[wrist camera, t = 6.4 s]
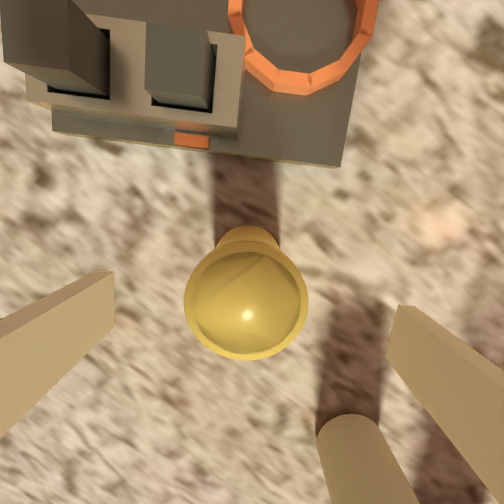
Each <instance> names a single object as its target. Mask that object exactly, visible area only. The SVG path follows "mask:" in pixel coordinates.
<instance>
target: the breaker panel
mask: <svg viewBox="0 0 504 504" xmlns="http://www.w3.org/2000/svg"><path fill="white" fill-rule="evenodd" d="M72 1H73V2H74V3H75V4H76V5H77V6H78V7H79V8H80V9H81V10H82V11H83V12H84V14H85V15H86V16H87V17H88V18H89V19H90V20H91V21H92V22H93V23H94V24H95V25H96V26H97V27H98V28H99V29H100V31H101V32H102V33H103V34H104V35H105V36H106V37H107V38H108V39H109V40H110V100H105V99H97V98H90V97H82V96H74V95H67V94H65V93H63V92H61V91H59V90H57V89H55V88H53V87H51V86H49V85H48V84H46V83H44V82H42V81H40V80H38V79H36V78H34V77H32V76H30V75H28V74H26V73H25V77H26V94H27V101H29V102H32V103H34V104H37V105H39V106H42V107H44V108H47V109H49V110H52V131H55V132H58V133H61V134H65V135H71V136H79V137H87V138H95V139H103V140H111V141H119V142H127V143H135V144H143V145H150V146H158V147H166V148H174V149H182V150H190V151H198V152H206V153H214V154H222V155H230V156H238V157H246V158H254V159H262V160H270V161H278V162H286V163H294V164H302V165H310V166H318V167H326V168H338V167H340V165H341V160H342V154H343V149H344V143H345V138H346V132H347V127H348V122H349V116H350V111H351V105H352V100H353V94H354V89H355V83H356V78H357V72H358V67H359V61H360V56H361V52H360V54H359V55H358V56H357V58H356V59H355V61H354V62H353V63H352V65H351V66H350V67H349V69H348V70H347V71H346V73H345V74H344V75H343V76H342V78H341V79H340V80H339V81H337V82H335V83H333V84H330V85H328V86H326V87H324V88H322V89H320V90H317V91H315V92H313V93H311V94H309V95H306V96H305V95H298V94H290V93H283V92H276V91H271V90H270V89H269V88H268V87H267V86H265V85H264V84H263V83H262V82H261V81H259V80H258V79H257V78H256V77H255V76H253V75H252V74H251V73H250V72H249V71H248V70H246V65H245V57H246V42H245V36H241V35H234V34H231V33H230V30H229V23H228V4H229V0H72ZM357 10H358V8H357V5H356V1H355V0H244V7H243V17H242V18H243V21H244V24H245V26H246V29H247V32H248V34H249V37H250V40H251V42H252V45H253V48H254V49H255V50H257V51H258V52H259V53H260V54H261V55H262V56H264V57H265V58H266V59H267V60H268V61H269V62H271V63H272V64H273V65H274V66H275V67H276V68H278V69H279V70H286V71H293V72H300V73H308V74H310V73H312V72H315V71H317V70H319V69H321V68H323V67H325V66H327V65H330V64H332V63H334V62H336V61H338V60H340V58H341V57H342V55H343V54H344V53H345V51H346V50H347V49H348V47H349V46H350V44H351V43H352V38H353V33H354V27H355V21H356V15H357ZM146 22H149V23H156V24H163V25H170V26H177V27H184V28H191V29H199V30H206V31H207V33H208V37H209V41H210V45H211V48H212V52H213V56H214V59H215V63H216V72H215V85H214V98H213V110H212V113H205V112H197V111H189V110H182V109H174V108H166V107H163V106H162V105H161V104H160V103H158V102H157V101H156V100H155V99H154V98H153V97H152V96H151V95H150V94H149V93H148V92H147V91H146V90H145V89H144V78H145V42H146Z"/></svg>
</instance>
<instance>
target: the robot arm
mask: <svg viewBox="0 0 504 504" xmlns="http://www.w3.org/2000/svg"><path fill="white" fill-rule="evenodd" d="M113 327H114V272H110V271H102V270H96V271H94V272H92V273H91V274H89V275H87V276H85V277H83V278H81V279H79V280H77V281H75V282H73V283H71V284H69V285H67V286H65V287H63V288H61V289H59V290H57V291H55V292H53V293H51V294H49V295H48V296H46V297H44V298H42V299H40V300H38V301H36V302H34V303H32V304H30V305H28V306H26V307H24V308H22V309H20V310H18V311H16V312H14V313H12V314H10V315H8V316H6V317H4V318H1V319H0V438H1V437H2V436H3V435H4V434H5V433H6V432H7V431H8V430H9V429H10V428H11V427H12V426H13V425H14V424H15V423H16V422H17V421H18V420H19V419H20V418H21V417H22V416H23V415H25V414H26V413H27V412H28V411H29V410H30V409H31V408H32V407H33V406H34V405H35V404H36V403H37V402H38V401H39V400H40V399H41V398H42V397H43V396H44V395H45V394H46V393H47V392H48V391H49V390H50V389H51V388H52V387H53V386H54V385H55V384H56V383H57V382H58V381H59V380H60V379H61V378H62V377H63V376H64V375H65V374H66V373H67V372H68V371H69V370H71V369H72V368H73V367H74V366H75V365H76V364H77V363H78V362H79V361H80V360H81V359H82V358H83V357H84V356H85V355H86V354H87V353H88V352H89V351H90V350H91V349H92V348H93V347H94V346H95V345H96V344H97V343H98V342H99V341H100V340H101V339H102V338H103V337H104V336H105V335H106V334H107V333H108V332H109V331H110V330H111V329H112V328H113ZM385 358H386V359H387V360H388V362H389V363H390V364H391V365H392V367H393V368H394V369H395V371H396V372H397V373H398V374H399V376H400V377H401V378H402V380H403V381H404V382H405V383H406V385H407V386H408V387H409V388H410V390H411V391H412V392H413V394H414V395H415V396H416V397H417V399H418V400H419V401H420V403H421V404H422V405H423V406H424V408H425V409H426V410H427V412H428V413H429V414H430V415H431V417H432V418H433V419H434V420H435V422H436V423H437V424H438V426H439V427H440V428H441V429H442V431H443V432H444V433H445V435H446V436H447V437H448V438H449V440H450V441H451V442H452V444H453V445H454V446H455V447H456V449H457V450H458V451H459V452H460V454H461V455H462V456H463V458H464V459H465V460H466V461H467V463H468V464H469V465H470V467H471V468H472V469H473V470H474V472H475V473H476V474H477V476H478V477H479V478H480V479H481V481H482V482H483V483H484V485H485V486H486V487H487V488H488V490H489V491H490V492H491V493H492V495H493V496H494V497H495V499H496V500H497V501H498V502H499V504H504V371H503V370H501V369H500V368H499V367H497V366H496V365H495V364H493V363H492V362H490V361H489V360H488V359H486V358H485V357H484V356H482V355H481V354H479V353H478V352H477V351H475V350H474V349H473V348H471V347H470V346H468V345H467V344H466V343H464V342H463V341H462V340H460V339H459V338H457V337H456V336H455V335H453V334H452V333H451V332H449V331H448V330H446V329H445V328H444V327H442V326H441V325H440V324H438V323H437V322H435V321H434V320H433V319H431V318H430V317H429V316H427V315H426V314H424V313H423V312H422V311H420V310H419V309H418V308H416V307H415V306H406V305H398V309H397V313H396V317H395V320H394V324H393V328H392V332H391V336H390V340H389V344H388V348H387V352H386V356H385Z"/></svg>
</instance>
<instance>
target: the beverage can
mask: <svg viewBox="0 0 504 504" xmlns="http://www.w3.org/2000/svg"><path fill="white" fill-rule="evenodd" d="M317 450H318V454H319V457H320V461H321V465H322V469H323V473H324V476H325V480H326V484H327V488H328V491H329V495H330V499H331V503H332V504H420V503H419V501H418V499H417V497H416V495H415V494H414V492H413V490H412V488H411V486H410V484H409V483H408V481H407V479H406V477H405V475H404V473H403V472H402V470H401V468H400V466H399V464H398V462H397V460H396V459H395V457H394V455H393V453H392V451H391V449H390V448H389V446H388V444H387V442H386V440H385V438H384V437H383V435H382V433H381V431H380V429H379V428H378V426H377V425H376V424H375V423H374V422H373V421H372V420H371V419H369V418H367V417H365V416H362V415H358V414H344V415H340V416H337V417H335V418H333V419H331V420H330V421H328V422H327V423H326V424H325V425H324V426H323V427H322V428H321V430H320V432H319V434H318V437H317Z"/></svg>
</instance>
